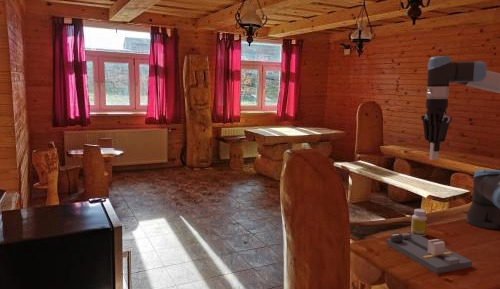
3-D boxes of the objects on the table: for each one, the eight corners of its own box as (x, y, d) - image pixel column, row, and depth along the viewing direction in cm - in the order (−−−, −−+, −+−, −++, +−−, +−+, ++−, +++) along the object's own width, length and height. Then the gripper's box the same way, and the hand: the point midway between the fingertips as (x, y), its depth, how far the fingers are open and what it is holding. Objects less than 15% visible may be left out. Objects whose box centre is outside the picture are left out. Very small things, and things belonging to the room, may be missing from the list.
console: (417, 239, 143) (418, 227, 142) (471, 267, 120) (472, 253, 120) (386, 244, 139) (386, 232, 138) (436, 273, 116) (437, 259, 116)
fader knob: (437, 250, 127) (438, 238, 127) (444, 253, 125) (445, 241, 124) (427, 251, 126) (427, 239, 126) (433, 255, 123) (434, 243, 123)
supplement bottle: (427, 237, 145) (429, 212, 144) (412, 236, 146) (414, 212, 145) (424, 232, 150) (425, 208, 149) (409, 231, 151) (410, 207, 150)
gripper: (416, 98, 148) (413, 157, 152) (442, 98, 136) (438, 163, 139) (432, 97, 151) (428, 156, 154) (459, 98, 138) (454, 161, 142)
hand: (433, 159), depth 147 cm, fingers closed
